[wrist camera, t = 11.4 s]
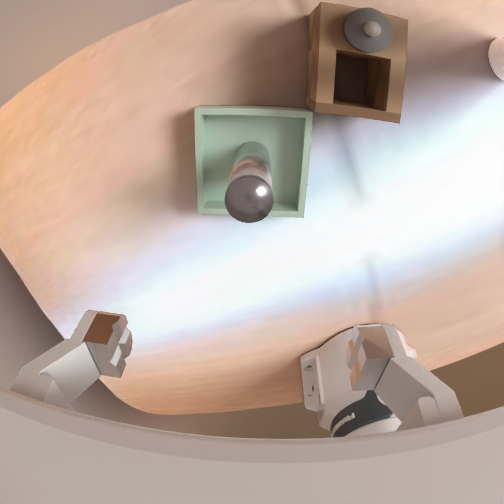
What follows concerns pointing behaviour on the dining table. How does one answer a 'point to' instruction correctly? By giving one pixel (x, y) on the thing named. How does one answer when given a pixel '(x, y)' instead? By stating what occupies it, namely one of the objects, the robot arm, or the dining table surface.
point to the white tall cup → (497, 57)
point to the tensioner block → (357, 46)
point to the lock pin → (250, 184)
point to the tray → (245, 130)
